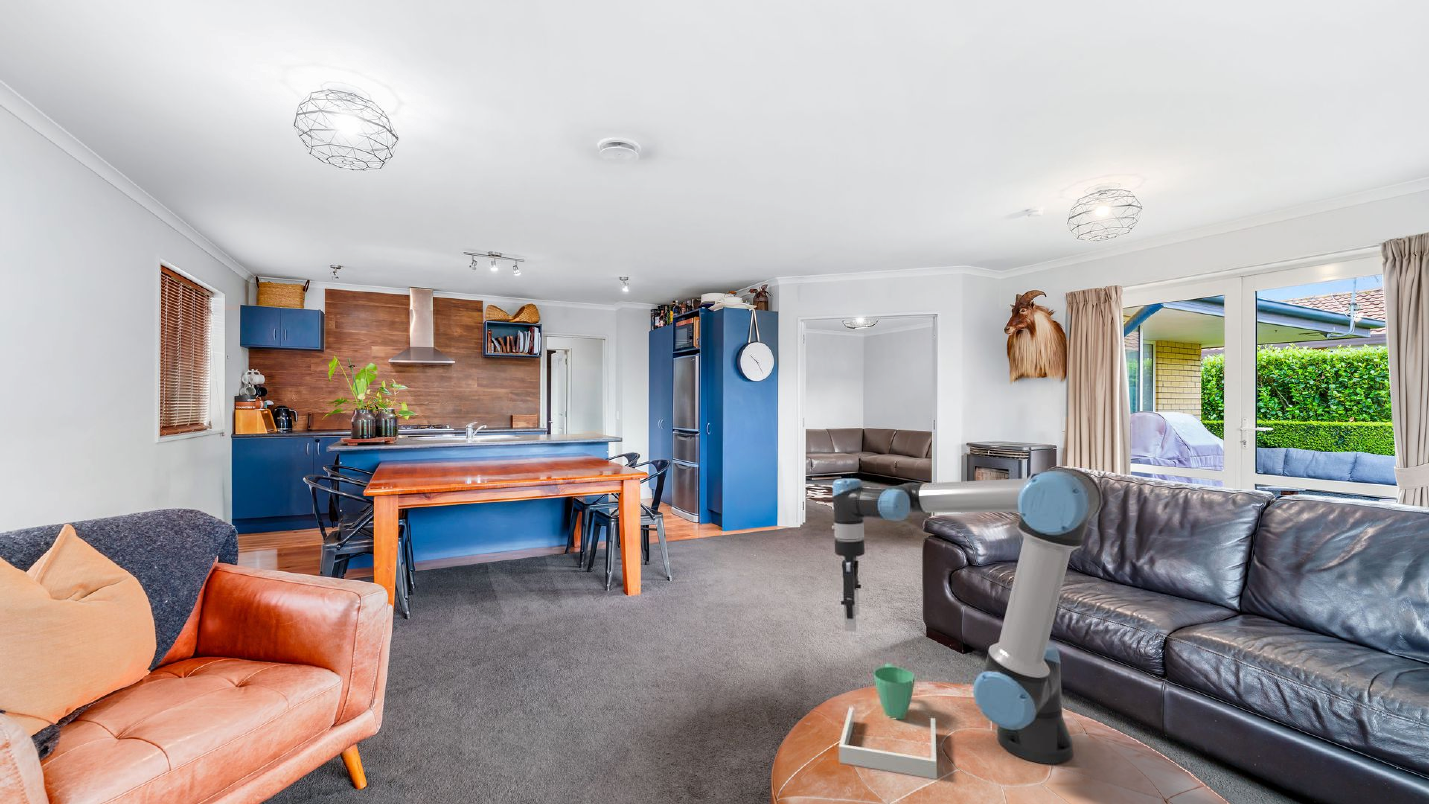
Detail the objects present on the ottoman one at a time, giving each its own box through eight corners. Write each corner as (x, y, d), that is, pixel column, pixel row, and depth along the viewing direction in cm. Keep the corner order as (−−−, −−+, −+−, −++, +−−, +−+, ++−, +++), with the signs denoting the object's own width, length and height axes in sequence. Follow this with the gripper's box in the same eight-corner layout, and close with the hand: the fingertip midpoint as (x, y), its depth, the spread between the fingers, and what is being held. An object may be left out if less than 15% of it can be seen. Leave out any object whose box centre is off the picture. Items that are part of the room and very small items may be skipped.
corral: (935, 733, 140) (935, 718, 140) (936, 779, 122) (936, 761, 122) (849, 721, 147) (849, 706, 147) (839, 762, 129) (838, 746, 129)
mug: (919, 725, 144) (918, 683, 145) (878, 723, 145) (877, 682, 146) (907, 697, 159) (906, 660, 159) (870, 696, 160) (869, 659, 160)
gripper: (838, 530, 166) (841, 607, 165) (829, 548, 142) (832, 637, 141) (866, 530, 164) (869, 608, 163) (861, 549, 140) (865, 640, 139)
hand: (852, 622), depth 152 cm, fingers open, 13 cm apart
